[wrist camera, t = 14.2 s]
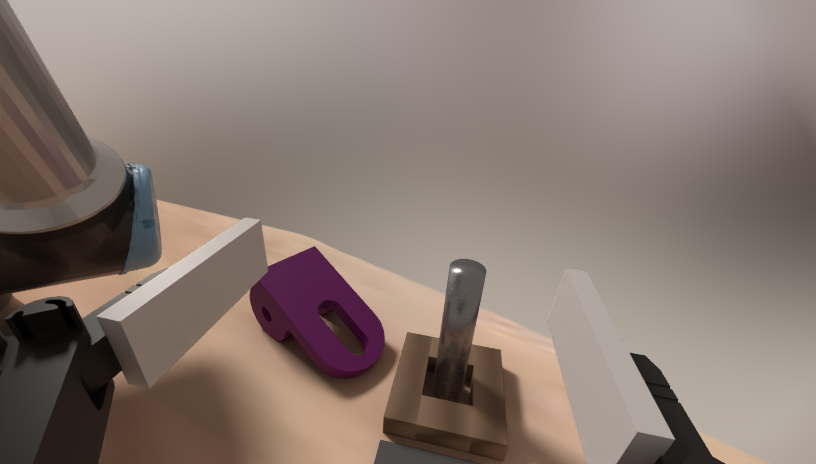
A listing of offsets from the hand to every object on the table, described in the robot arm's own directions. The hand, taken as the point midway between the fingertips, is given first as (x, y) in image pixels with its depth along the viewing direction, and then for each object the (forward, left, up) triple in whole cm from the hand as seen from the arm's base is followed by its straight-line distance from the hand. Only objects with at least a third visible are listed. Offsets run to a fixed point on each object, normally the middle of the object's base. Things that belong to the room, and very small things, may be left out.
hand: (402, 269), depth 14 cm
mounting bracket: (-14, +20, -26) cm, 35 cm away
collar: (+4, +15, -26) cm, 30 cm away
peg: (+4, +15, -26) cm, 30 cm away
